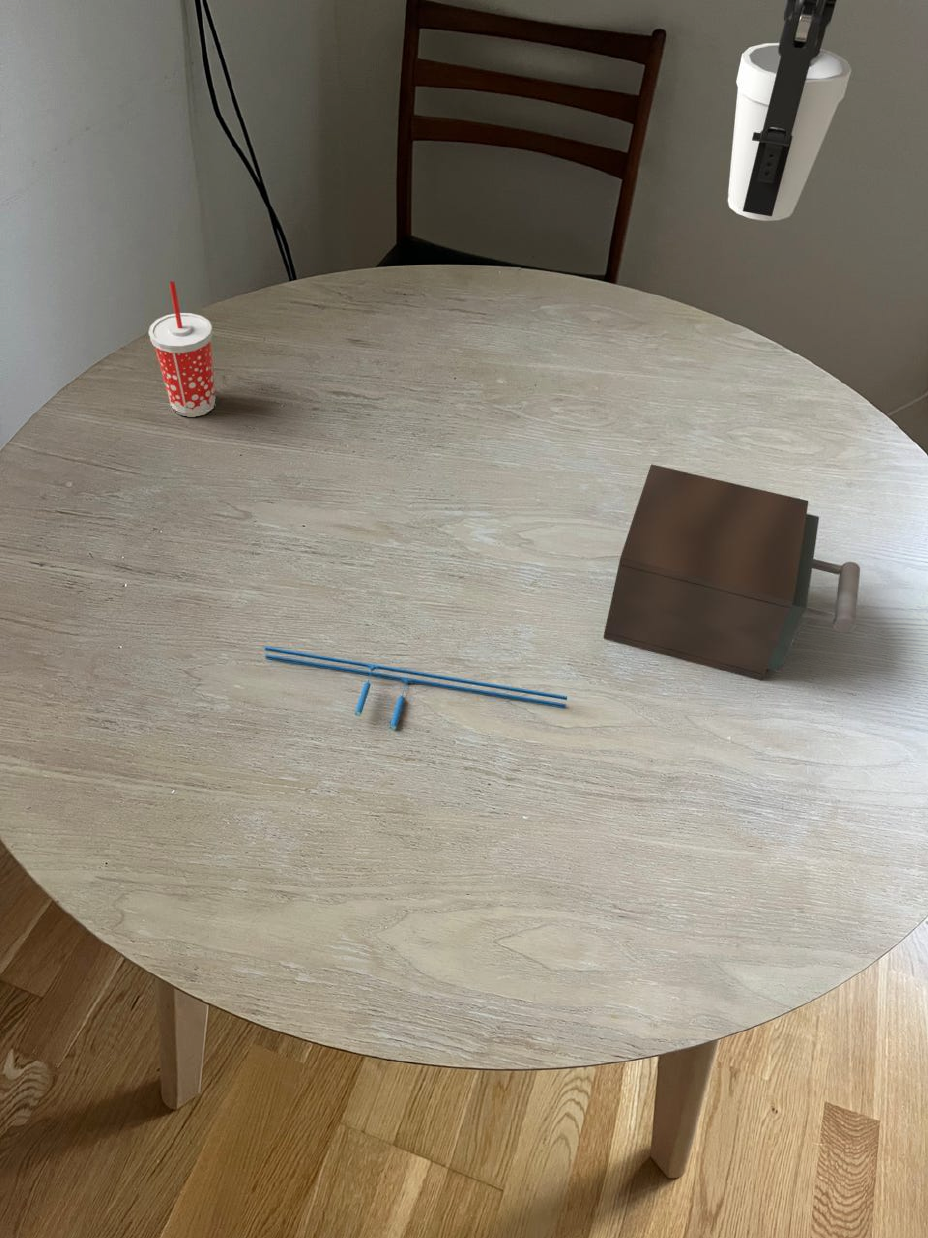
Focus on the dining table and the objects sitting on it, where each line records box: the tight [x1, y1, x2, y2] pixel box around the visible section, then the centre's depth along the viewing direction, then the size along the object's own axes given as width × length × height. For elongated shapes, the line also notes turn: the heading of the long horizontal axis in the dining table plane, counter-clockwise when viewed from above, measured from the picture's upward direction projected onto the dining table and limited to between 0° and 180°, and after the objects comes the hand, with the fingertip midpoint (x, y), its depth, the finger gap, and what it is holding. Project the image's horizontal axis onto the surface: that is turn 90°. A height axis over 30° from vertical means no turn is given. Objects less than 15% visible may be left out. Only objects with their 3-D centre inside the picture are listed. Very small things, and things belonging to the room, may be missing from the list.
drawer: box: [766, 513, 861, 673], centre depth 88 cm, size 17×11×8 cm
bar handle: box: [263, 646, 568, 730], centre depth 83 cm, size 1×25×5 cm
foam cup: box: [727, 42, 853, 222], centre depth 96 cm, size 10×9×13 cm
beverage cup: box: [148, 280, 217, 413], centre depth 104 cm, size 6×6×14 cm
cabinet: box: [603, 463, 809, 681], centre depth 89 cm, size 14×13×10 cm
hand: (764, 189), depth 100 cm, fingers closed on foam cup, 9 cm apart
